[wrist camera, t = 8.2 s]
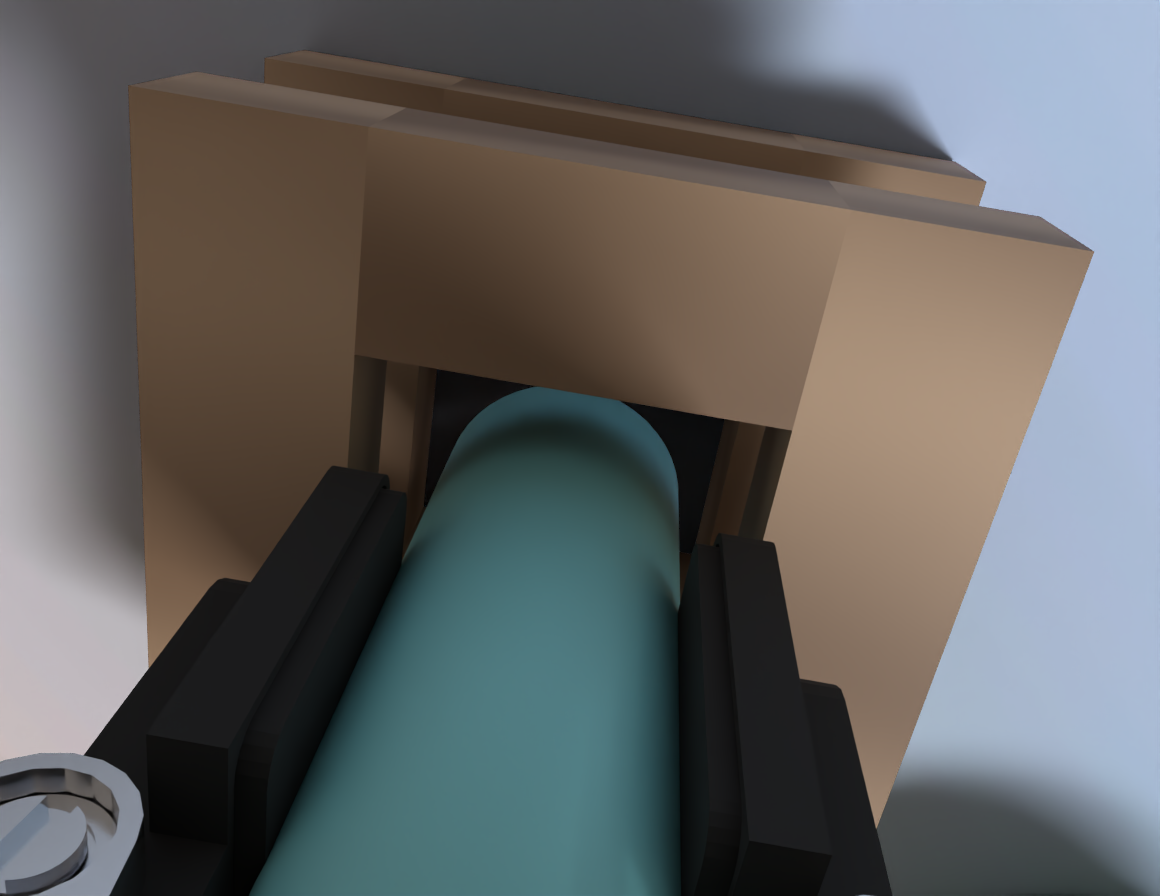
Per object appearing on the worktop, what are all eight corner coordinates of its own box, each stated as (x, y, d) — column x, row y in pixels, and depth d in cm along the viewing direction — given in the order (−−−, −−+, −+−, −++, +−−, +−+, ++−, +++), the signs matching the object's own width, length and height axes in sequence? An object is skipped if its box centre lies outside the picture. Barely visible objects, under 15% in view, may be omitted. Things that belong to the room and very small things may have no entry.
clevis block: (304, 50, 14) (128, 85, 9) (955, 161, 14) (1093, 251, 9) (282, 687, 19) (157, 916, 14) (767, 773, 19) (800, 1030, 14)
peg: (459, 365, 12) (-94, 1389, 3) (700, 407, 12) (781, 1549, 3) (435, 571, 14) (-11, 1710, 5) (654, 610, 14) (625, 1830, 5)
